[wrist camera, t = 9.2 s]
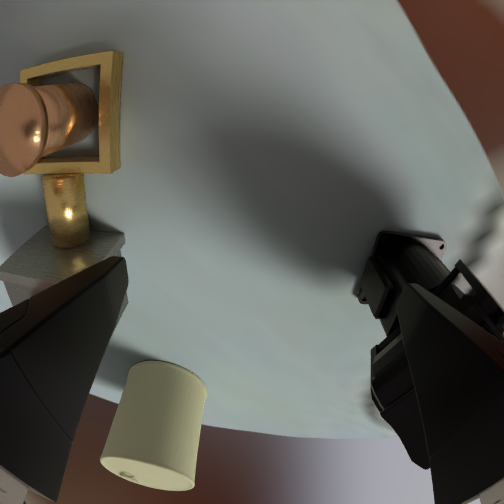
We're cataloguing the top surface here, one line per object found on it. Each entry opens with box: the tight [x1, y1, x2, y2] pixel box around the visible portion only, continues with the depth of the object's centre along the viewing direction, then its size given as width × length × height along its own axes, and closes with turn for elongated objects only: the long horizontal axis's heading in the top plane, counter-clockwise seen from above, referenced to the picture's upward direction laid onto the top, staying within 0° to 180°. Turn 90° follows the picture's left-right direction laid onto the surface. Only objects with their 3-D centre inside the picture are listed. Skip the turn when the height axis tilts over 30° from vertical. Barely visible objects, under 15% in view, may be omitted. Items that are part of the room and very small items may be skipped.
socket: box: [20, 51, 123, 174], centre depth 17 cm, size 8×8×2 cm
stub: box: [0, 83, 98, 177], centre depth 14 cm, size 5×5×7 cm
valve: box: [0, 173, 128, 334], centre depth 18 cm, size 8×12×9 cm
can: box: [100, 361, 207, 491], centre depth 26 cm, size 9×9×12 cm
